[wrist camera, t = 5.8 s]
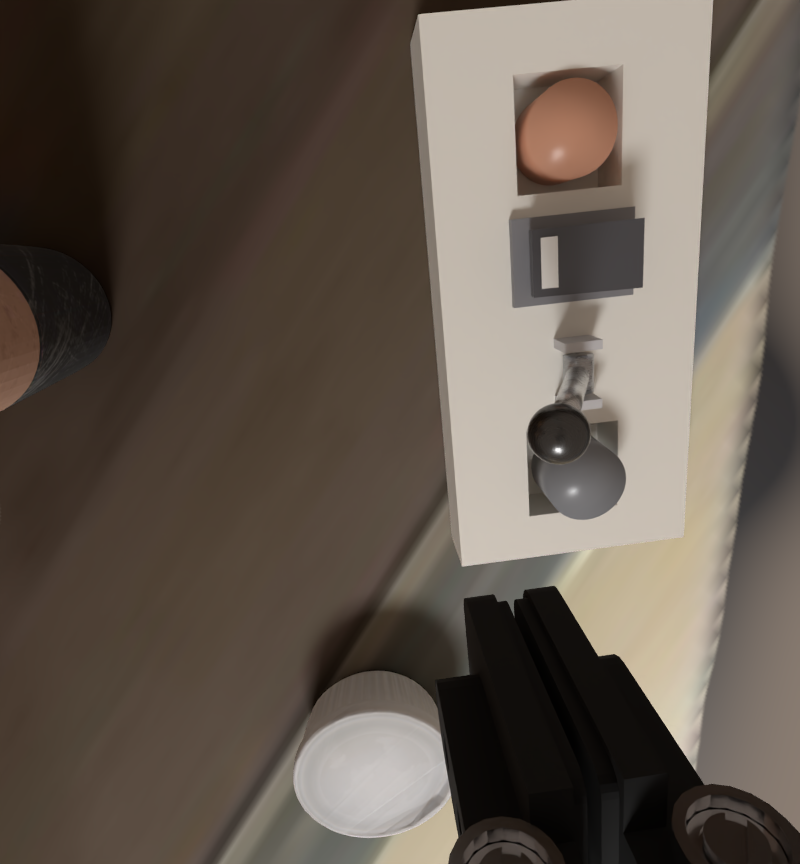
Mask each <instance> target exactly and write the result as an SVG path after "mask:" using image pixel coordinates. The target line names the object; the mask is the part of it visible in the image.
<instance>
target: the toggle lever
mask: <svg viewBox="0 0 800 864" xmlns="http://www.w3.org/2000/svg"><path fill="white" fill-rule="evenodd" d="M593 392H594V354H593V353H589V352H574V353H568V354H565V355H563V382H562V385H561V387H560V390H559V392H558V395H557V397H556V400H555V402H554V403H553V404H549V405H546V406H544V407H542V408H541V409H539V410H538V411H537V412H536V413H535V414H534V415H533V417H532V418H531V420H530V422H529V425H528V429H527V439H528V443H529V446H530V448H531V449H532V451H533V452H534V454H535V455H536V456H537V457H539V458H540V459H541V460H543V461H545V462H547V463H550V464H555V465H563V464H568V463H571V462H573V461H575V460H577V459H578V458H580V457H581V456H582V455H583V454H584V453H585V451H586V450H587V448H588V446H589V443H590V440H591V428H590V424H589V422H588V420H587V418H586V416H585V415H584V414H583V413H582V412H581V409H582V405H583V401H584V397H585V395H586V394H591V393H593Z"/></svg>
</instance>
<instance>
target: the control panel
mask: <svg viewBox="0 0 800 864" xmlns="http://www.w3.org/2000/svg"><path fill="white" fill-rule="evenodd" d="M712 11H713V0H568V1H557V2H547V3H536V4H525V5H514V6H503V7H492V8H481V9H470V10H459V11H448V12H438V13H427V14H418V17H417V21H416V24H415V28H414V32H413V35H412V39H411V43H410V48H411V60H412V72H413V84H414V96H415V108H416V119H417V131H418V143H419V155H420V167H421V179H422V191H423V202H424V214H425V226H426V238H427V250H428V262H429V274H430V285H431V297H432V309H433V321H434V333H435V345H436V357H437V368H438V380H439V392H440V404H441V416H442V428H443V440H444V452H445V463H446V475H447V487H448V499H449V511H450V523H451V535H452V538H453V541H454V544H455V547H456V550H457V553H458V556H459V559H460V562H461V565H462V566H470V565H477V564H485V563H492V562H500V561H507V560H515V559H522V558H530V557H537V556H545V555H552V554H560V553H567V552H575V551H583V550H590V549H598V548H605V547H613V546H620V545H628V544H635V543H643V542H650V541H658V540H665V539H673V538H680V537H684V520H685V502H686V484H687V466H688V448H689V429H690V411H691V393H692V375H693V357H694V339H695V320H696V302H697V284H698V266H699V248H700V229H701V211H702V193H703V175H704V157H705V138H706V120H707V102H708V84H709V66H710V47H711V29H712ZM568 78H585V79H589V80H591V81H594V82H596V83H597V84H599V85H600V86H601V87H602V88H604V89H605V90H606V92H607V93H608V94H609V96H610V97H611V99H612V101H613V103H614V105H615V109H616V112H617V118H618V130H617V136H616V140H615V143H614V146H613V148H612V151H611V152H610V154H609V156H608V157H607V159H606V160H605V161H604V162H603V163H602V165H601V166H599V167H598V168H597V169H596V170H594V171H593V172H591V173H590V174H588V175H585V176H583V177H580V178H576V179H573V180H570V181H567V182H564V183H561V184H557V185H548V186H547V185H541V184H537V183H535V182H533V181H531V180H529V179H528V178H527V177H526V176H524V175H523V173H522V172H521V171H520V170H519V168H518V167H517V165H516V142H515V123H516V121H517V119H518V117H519V116H520V114H521V113H522V111H523V110H524V109H525V108H526V107H527V106H528V105H529V104H530V103H532V102H533V101H534V100H535V99H536V98H538V97H539V96H540V95H541V94H542V93H544V92H545V91H546V90H547V89H548V88H550V87H551V86H552V85H554V84H555V83H557V82H559V81H562V80H565V79H568ZM638 218H645V227H644V265H643V288H633V289H623V290H612V291H601V292H591V293H580V294H570V295H559V296H548V297H538V298H533V297H532V296H531V281H530V250H529V230H536V229H545V228H555V227H564V226H573V225H582V224H591V223H601V222H610V221H619V220H628V219H638ZM574 352H589V353H593V354H594V392H593V393H591V394H586V395H585V397H584V401H583V405H582V409H581V412H582V413H583V414H584V415H585V416H586V418H587V420H588V422H589V424H590V428H591V436H593V437H594V438H595V439H596V440H598V441H599V442H600V443H601V444H603V445H604V446H605V447H607V448H608V449H609V450H610V451H612V452H613V453H614V454H615V455H616V456H618V458H619V459H620V460H621V462H622V464H623V466H624V468H625V473H626V484H625V489H624V491H623V494H622V496H621V498H620V499H619V501H618V502H617V503H616V504H615V506H614V507H613V508H611V509H610V510H609V511H608V512H606V513H605V514H603V515H601V516H599V517H596V518H593V519H588V520H577V519H572V518H569V517H566V516H564V515H563V514H561V513H560V512H559V511H558V510H557V509H556V508H555V507H554V506H553V504H552V503H551V502H550V501H549V499H548V498H547V497H546V495H545V494H544V493H543V492H542V490H541V489H540V488H539V486H538V485H537V484H536V482H535V481H534V478H533V475H532V470H531V463H532V458H533V455H534V452H533V451H532V449H531V448H530V446H529V443H528V439H527V429H528V425H529V422H530V420H531V418H532V417H533V415H534V414H535V413H536V412H537V411H538V410H539V409H541V408H542V407H544V406H546V405H549V404H553V403H554V402H555V400H556V397H557V395H558V392H559V390H560V387H561V385H562V382H563V355H565V354H568V353H574Z"/></svg>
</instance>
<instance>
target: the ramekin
mask: <svg viewBox="0 0 800 864" xmlns="http://www.w3.org/2000/svg"><path fill="white" fill-rule="evenodd" d="M293 783H294V789H295V792H296V795H297V798H298V800H299V801H300V803H301V805H302V807H303V808H304V810H305V811H306V812H307V813H308V814H309V815H310V816H311V817H312V818H313V819H315V820H316V821H317V822H318V823H320V824H322V825H323V826H325V827H327V828H328V829H330V830H332V831H334V832H337V833H340V834H344V835H348V836H354V837H364V838H374V837H385V836H391V835H395V834H399V833H403V832H405V831H408V830H410V829H413V828H415V827H417V826H419V825H421V824H422V823H424V822H426V821H427V820H429V819H430V818H431V817H433V816H434V815H435V814H436V813H437V812H438V811H439V810H440V809H441V808H442V807H443V806H444V805H445V804H446V803H447V801H448V800H449V798H450V797H451V792H450V786H449V781H448V775H447V770H446V764H445V758H444V751H443V745H442V738H441V731H440V723H439V715H438V709H437V706H436V704H435V703H434V701H433V699H432V697H431V696H430V695H429V694H428V692H427V691H426V690H425V689H423V688H422V687H421V686H420V685H419V684H417V683H416V682H415V681H413V680H411V679H409V678H408V677H406V676H403V675H400V674H397V673H393V672H388V671H367V672H361V673H358V674H354V675H351V676H349V677H347V678H345V679H342V680H340V681H339V682H337V683H336V684H334V685H333V686H332V687H330V688H329V689H327V690H326V692H324V693H323V694H322V695H321V697H320V698H319V699H318V700H317V702H316V704H315V706H314V707H313V709H312V712H311V714H310V717H309V720H308V724H307V727H306V731H305V734H304V738H303V740H302V742H301V744H300V746H299V748H298V750H297V753H296V757H295V762H294V772H293Z"/></svg>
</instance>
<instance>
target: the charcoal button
mask: <svg viewBox="0 0 800 864" xmlns="http://www.w3.org/2000/svg"><path fill="white" fill-rule="evenodd" d="M531 470H532V475H533V478H534V481H535V482H536V484H537V485H538V486H539V488H540V489H541V490H542V492H543V493H544V494H545V495H546V497H547V498H548V499H549V501H550V502H551V503H552V504H553V506H554V507H555V508H556V509H557V510H558V511H559V512H560V513H561V514H563V515H564V516H566V517H569V518H572V519H577V520H588V519H593V518H596V517H599V516H601V515H603V514H605V513H606V512H608V511H609V510H610V509H611V508H613V507H614V506H615V504H616V503H617V502H618V501H619V499H620V498H621V496H622V494H623V491H624V489H625V484H626V473H625V468H624V466H623V464H622V462H621V460H620V459H619V458H618V456H616V455H615V454H614V453H613V452H612V451H610V450H609V449H608V448H607V447H605V446H604V445H603V444H601V443H600V442H599V441H598V440H596V439H595V438H594V437H593V436H591V440H590V443H589V446H588V448H587V450H586V451H585V453H584V454H583V455H582V456H581V457H580V458H578V459H577V460H575V461H573V462H571V463H568V464H563V465H555V464H550V463H547V462H545V461H543V460H541V459H540V458H539V457H537V456H536V455H535V454H534V455H533V458H532V463H531Z"/></svg>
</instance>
